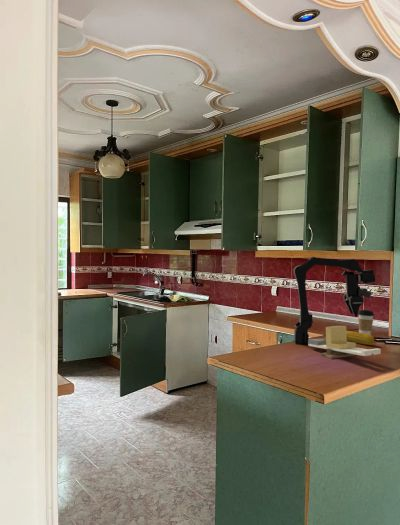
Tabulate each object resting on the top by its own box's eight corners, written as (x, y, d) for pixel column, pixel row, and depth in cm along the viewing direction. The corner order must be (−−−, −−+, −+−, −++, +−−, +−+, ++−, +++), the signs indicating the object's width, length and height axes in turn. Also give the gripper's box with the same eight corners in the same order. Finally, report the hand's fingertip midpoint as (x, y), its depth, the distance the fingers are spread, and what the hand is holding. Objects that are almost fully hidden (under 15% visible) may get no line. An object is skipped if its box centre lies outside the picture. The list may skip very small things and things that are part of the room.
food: (375, 345, 197) (375, 334, 197) (369, 347, 193) (370, 335, 193) (338, 337, 214) (339, 326, 213) (332, 338, 210) (333, 327, 210)
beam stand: (320, 355, 173) (320, 347, 173) (345, 352, 181) (345, 344, 181) (330, 358, 168) (331, 351, 168) (355, 355, 176) (356, 347, 176)
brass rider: (326, 348, 174) (325, 326, 175) (341, 346, 179) (341, 325, 180) (340, 350, 167) (339, 328, 168) (356, 348, 172) (355, 327, 173)
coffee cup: (356, 336, 217) (357, 310, 217) (357, 333, 225) (358, 308, 224) (372, 338, 213) (373, 311, 213) (373, 335, 221) (374, 310, 220)
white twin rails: (308, 345, 184) (308, 339, 184) (323, 344, 189) (323, 337, 189) (364, 356, 156) (364, 348, 157) (380, 353, 161) (380, 346, 161)
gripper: (374, 284, 181) (376, 317, 181) (364, 282, 199) (366, 312, 199) (349, 285, 183) (351, 318, 183) (342, 283, 201) (343, 312, 201)
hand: (353, 315), depth 191 cm, fingers open, 9 cm apart
